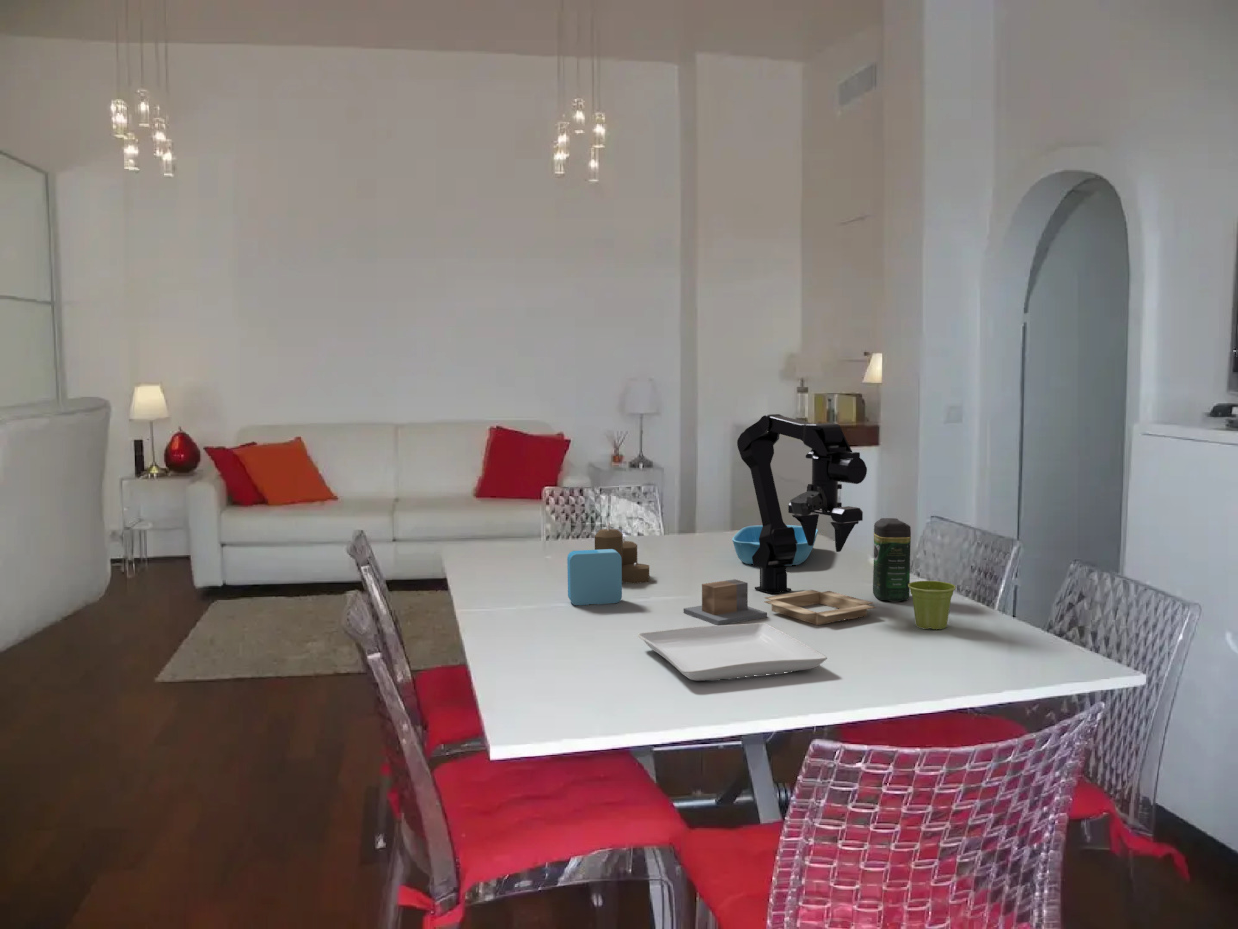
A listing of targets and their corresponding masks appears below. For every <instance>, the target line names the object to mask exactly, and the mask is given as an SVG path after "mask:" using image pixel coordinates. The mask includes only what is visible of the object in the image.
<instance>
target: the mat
mask: <svg viewBox="0 0 1238 929" xmlns="http://www.w3.org/2000/svg"><path fill="white" fill-rule="evenodd" d="M683 613H684V614H685V615H689V616H692V617H694V618H696V619H700V620H702V621H705V622H708V623H711V624H714V625H715V626H718V625H731V624H735V623H742V622H746V621H752V620H751V619H753V620H757V619H764V618H768V612H766V611H763V610H760V609H757V608H754V607H750V606H748V610H743V611H737V612H731V613H725V614H719V615H712V614H709V613H706V612H703V611H702V605H696V606H692V607H691V606H690V607H684V608H683Z"/></svg>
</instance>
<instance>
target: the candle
mask: <svg viewBox="0 0 1238 929" xmlns="http://www.w3.org/2000/svg"><path fill="white" fill-rule="evenodd" d="M606 526H607V528H603V529H602V528H601V529H599V530H598V531H597V532H596V534H595V535H594V550H602V549H614V550H616V551H617V552H618V553H619V554H620V555H621V559H622V583H626V582H627V584H633V583H636V584H644V583H645V584H646V583H650V582H649V581H650V565H649V564H644V563H638V544H637V543H635V542H634V541H629V540H626V538H625V537H624V534H623V533H622V531H620V530H619V529H617V528H610V527H611V523H610V521H608V522H607V525H606Z"/></svg>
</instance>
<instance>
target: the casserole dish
mask: <svg viewBox="0 0 1238 929" xmlns="http://www.w3.org/2000/svg"><path fill="white" fill-rule="evenodd" d="M786 526H787V527H793V529H794V531H795V538H796V540H797V542H798V543H797V544H796V545H797V552H796V554H795V557H794V561H793V564H792V565H796V566H799V565H801V564H802V563H804V562H805V561H807V559H808V557H809V556H810V554H811V552H812V551H813V548H814V546H815V542H816V539H817V536H818V533H819V530H818V528H816V534H815V539H814V543H813V545H812V546H809V545H808V543H807V540H806V537H805V534H804V531H803V528H802V526H801V525H795V524H794V525H793V524H791V525H790V524H786ZM762 527H763V525H761V524H760V525H757V524H755V525H748V526H745V527H742V528H741V529H739V530H738V532H736V533H735V535H734V536H733V537H732V538H731V540H732V543H733V546H734V551H735V553H736V556H737V558H738V559H739V560H740V561H741V562H743V564H746V565H751V564H753V560H752V556H753V555H754V554H755V552H756V551H757V550H758V548H759V547H760V543H759V537H760V533H761V530H762ZM792 565H785V566H786V567H793V566H792Z"/></svg>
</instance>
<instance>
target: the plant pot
mask: <svg viewBox="0 0 1238 929" xmlns="http://www.w3.org/2000/svg"><path fill="white" fill-rule="evenodd" d="M908 587H909V588H910V594H911V596H912V605H913V611H914V618H915V626H916V627H918V628H920V629H923V628H924V629H923V630H927V629H933V630H935V629H936V630H937V629H939V630H943V629H946V628H947V626H948V621H949V614H950V607H951V601H952V596H953V594H954V590H956V588H957V587H956V585H955V584H953V583H950V582H946V581H940V580H939V581H938V580H918V581H912V582H911V581H910V583H909V584H908ZM936 630H935V631H936ZM937 631H938V630H937Z"/></svg>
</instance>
